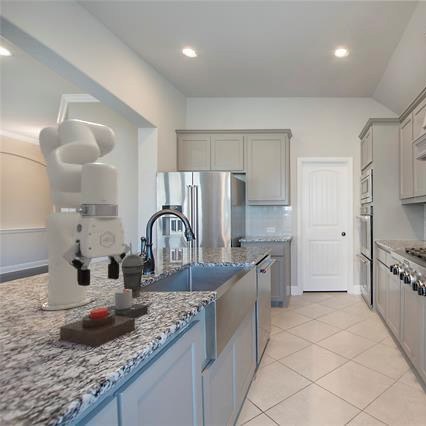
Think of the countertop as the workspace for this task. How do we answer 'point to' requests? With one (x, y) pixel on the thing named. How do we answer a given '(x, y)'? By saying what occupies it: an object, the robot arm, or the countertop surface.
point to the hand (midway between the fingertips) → (99, 281)
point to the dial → (123, 299)
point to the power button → (99, 313)
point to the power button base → (97, 329)
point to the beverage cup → (132, 273)
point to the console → (130, 310)
